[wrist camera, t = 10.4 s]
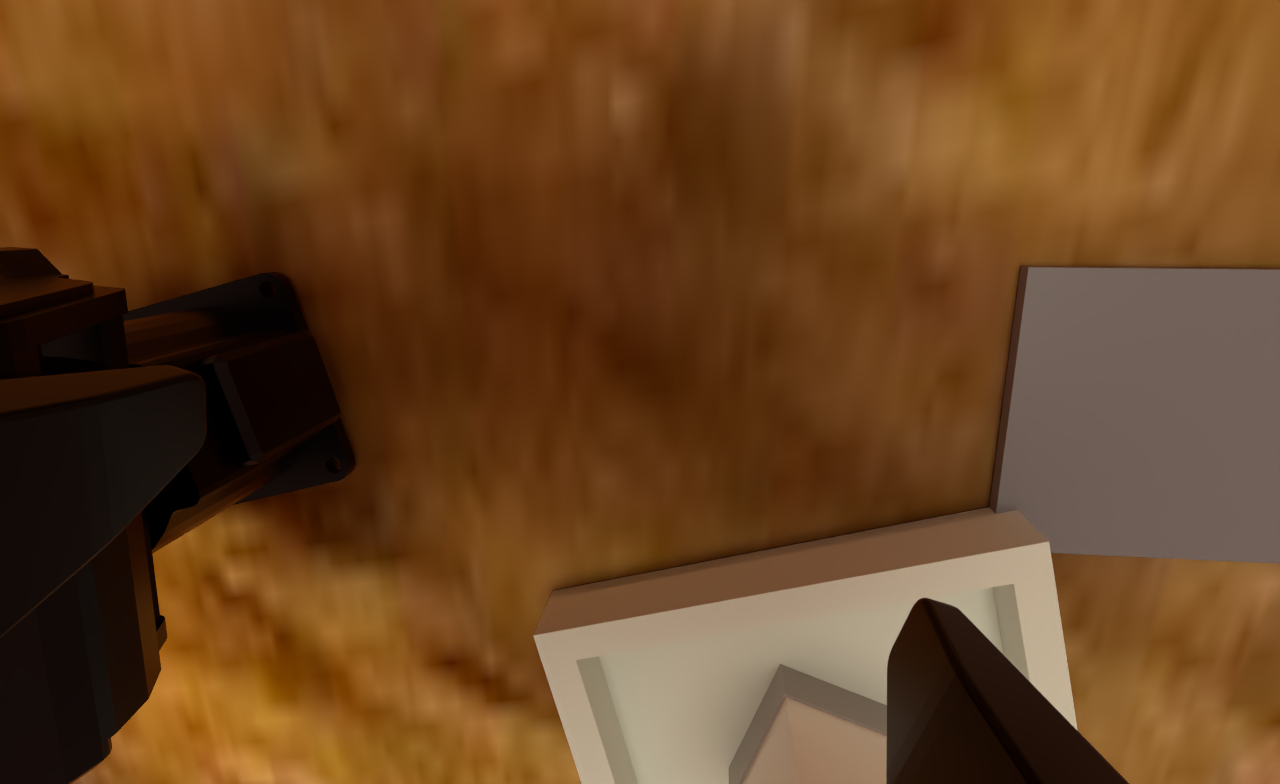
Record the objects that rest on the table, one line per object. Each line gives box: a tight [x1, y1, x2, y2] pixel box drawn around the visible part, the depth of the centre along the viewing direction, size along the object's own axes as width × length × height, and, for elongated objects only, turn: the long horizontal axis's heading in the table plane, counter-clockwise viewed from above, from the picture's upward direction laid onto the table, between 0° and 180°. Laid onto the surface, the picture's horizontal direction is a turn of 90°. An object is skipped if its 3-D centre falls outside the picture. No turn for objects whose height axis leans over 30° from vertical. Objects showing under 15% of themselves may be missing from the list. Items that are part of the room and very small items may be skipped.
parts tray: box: [533, 507, 1077, 784], centre depth 22 cm, size 14×13×2 cm
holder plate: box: [989, 266, 1280, 563], centre depth 19 cm, size 10×8×1 cm
